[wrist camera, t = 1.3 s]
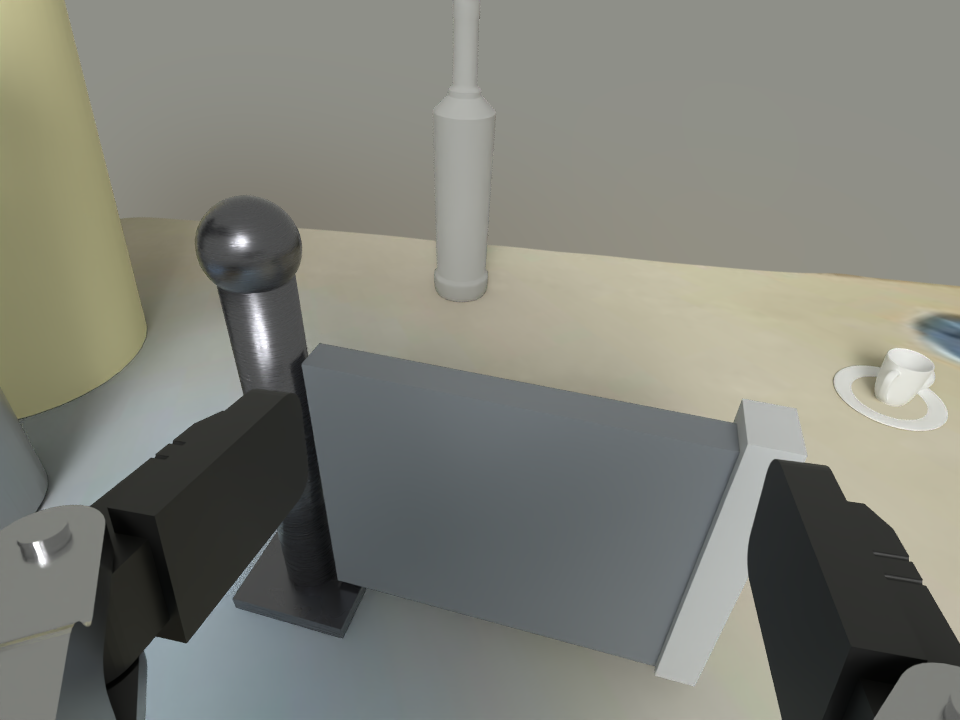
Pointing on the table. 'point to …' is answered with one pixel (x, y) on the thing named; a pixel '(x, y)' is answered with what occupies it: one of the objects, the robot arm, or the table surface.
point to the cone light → (56, 223)
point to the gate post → (275, 366)
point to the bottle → (463, 167)
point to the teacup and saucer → (896, 388)
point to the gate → (542, 502)
